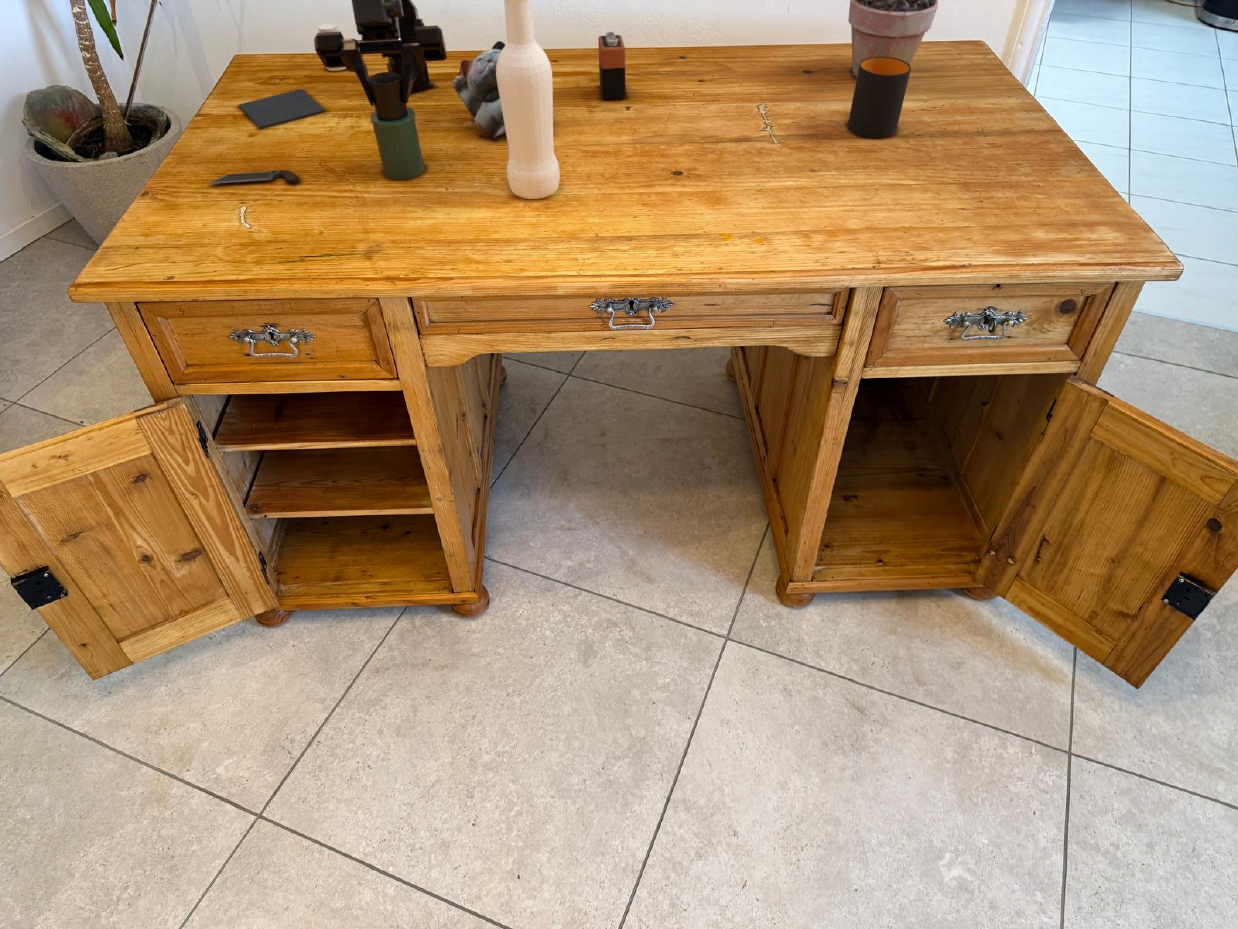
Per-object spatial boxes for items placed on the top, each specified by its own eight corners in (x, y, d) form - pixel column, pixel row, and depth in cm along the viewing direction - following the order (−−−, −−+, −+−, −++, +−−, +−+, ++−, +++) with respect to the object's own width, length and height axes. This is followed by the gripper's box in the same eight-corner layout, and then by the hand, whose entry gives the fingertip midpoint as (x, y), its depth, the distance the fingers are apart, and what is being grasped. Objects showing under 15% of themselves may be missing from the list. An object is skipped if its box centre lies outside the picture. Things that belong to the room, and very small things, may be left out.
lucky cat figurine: (478, 146, 137) (440, 61, 131) (480, 144, 148) (445, 66, 142) (559, 110, 136) (524, 23, 131) (555, 111, 147) (522, 31, 142)
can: (413, 157, 135) (403, 106, 129) (430, 172, 131) (420, 120, 125) (378, 168, 132) (365, 116, 126) (394, 183, 129) (382, 130, 122)
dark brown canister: (404, 109, 129) (395, 65, 124) (423, 124, 125) (414, 79, 120) (365, 120, 126) (354, 75, 122) (382, 135, 123) (372, 90, 118)
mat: (301, 90, 155) (301, 88, 154) (324, 111, 148) (324, 109, 148) (239, 106, 150) (238, 104, 150) (260, 128, 143) (259, 126, 143)
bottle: (509, 177, 129) (484, -36, 108) (559, 174, 130) (545, -38, 108) (508, 202, 124) (482, -17, 102) (561, 199, 124) (546, -20, 103)
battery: (602, 100, 150) (600, 43, 142) (599, 86, 154) (597, 29, 147) (625, 99, 150) (625, 42, 143) (622, 85, 154) (621, 28, 147)
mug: (874, 107, 146) (887, 46, 138) (904, 135, 138) (920, 72, 130) (831, 112, 145) (842, 50, 137) (859, 140, 137) (872, 77, 129)
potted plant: (837, 49, 166) (862, -96, 147) (934, 64, 159) (972, -85, 141) (810, 81, 154) (834, -72, 136) (913, 98, 148) (952, -59, 130)
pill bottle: (343, 72, 161) (332, 30, 155) (322, 70, 161) (311, 29, 156) (352, 64, 164) (342, 22, 158) (332, 62, 164) (321, 21, 159)
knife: (301, 171, 131) (300, 167, 131) (297, 183, 129) (296, 179, 128) (213, 177, 130) (211, 173, 130) (207, 189, 128) (205, 185, 127)
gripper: (297, -29, 113) (310, 83, 114) (431, -36, 115) (443, 74, 115) (319, 14, 124) (331, 116, 125) (441, 6, 126) (452, 107, 126)
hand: (388, 103), depth 122 cm, fingers closed on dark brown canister, 5 cm apart
